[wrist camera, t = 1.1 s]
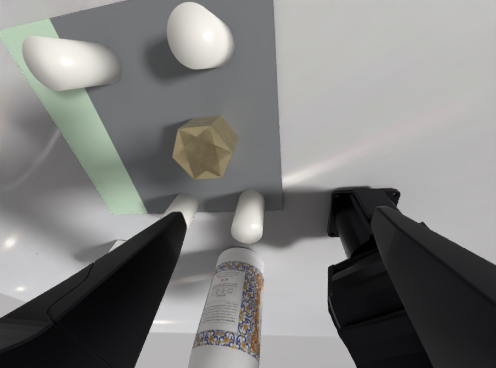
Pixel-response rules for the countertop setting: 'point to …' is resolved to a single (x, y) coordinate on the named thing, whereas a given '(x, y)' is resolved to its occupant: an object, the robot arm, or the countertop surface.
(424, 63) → the countertop surface
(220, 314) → the bath foam
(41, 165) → the countertop surface
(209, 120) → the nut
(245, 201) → the cylinder
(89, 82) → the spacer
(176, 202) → the cylinder
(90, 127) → the mat
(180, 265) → the countertop surface
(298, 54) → the countertop surface
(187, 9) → the cylinder
